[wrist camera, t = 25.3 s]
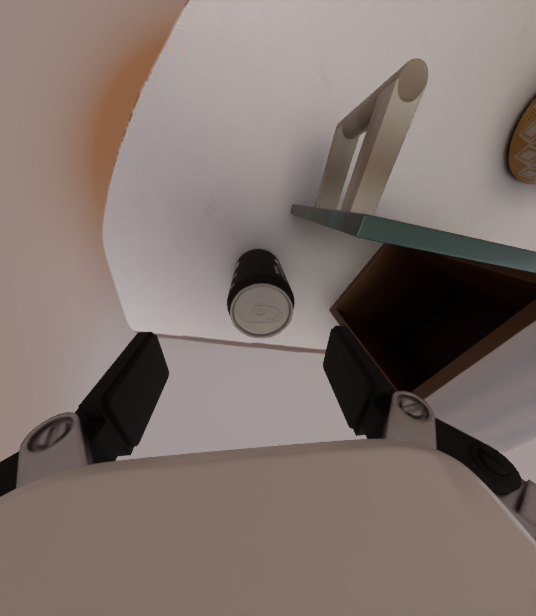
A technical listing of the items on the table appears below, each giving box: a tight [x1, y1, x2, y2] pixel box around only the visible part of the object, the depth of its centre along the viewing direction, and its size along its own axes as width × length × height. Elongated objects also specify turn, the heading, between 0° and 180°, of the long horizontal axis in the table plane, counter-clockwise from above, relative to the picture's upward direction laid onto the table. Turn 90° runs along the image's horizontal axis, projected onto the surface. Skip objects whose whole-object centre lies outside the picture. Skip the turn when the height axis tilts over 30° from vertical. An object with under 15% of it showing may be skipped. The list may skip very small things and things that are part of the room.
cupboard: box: [330, 243, 536, 452], centre depth 24 cm, size 18×14×18 cm
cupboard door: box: [290, 59, 536, 273], centre depth 16 cm, size 8×14×18 cm, turn 79°
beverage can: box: [227, 249, 294, 338], centre depth 23 cm, size 7×7×12 cm
